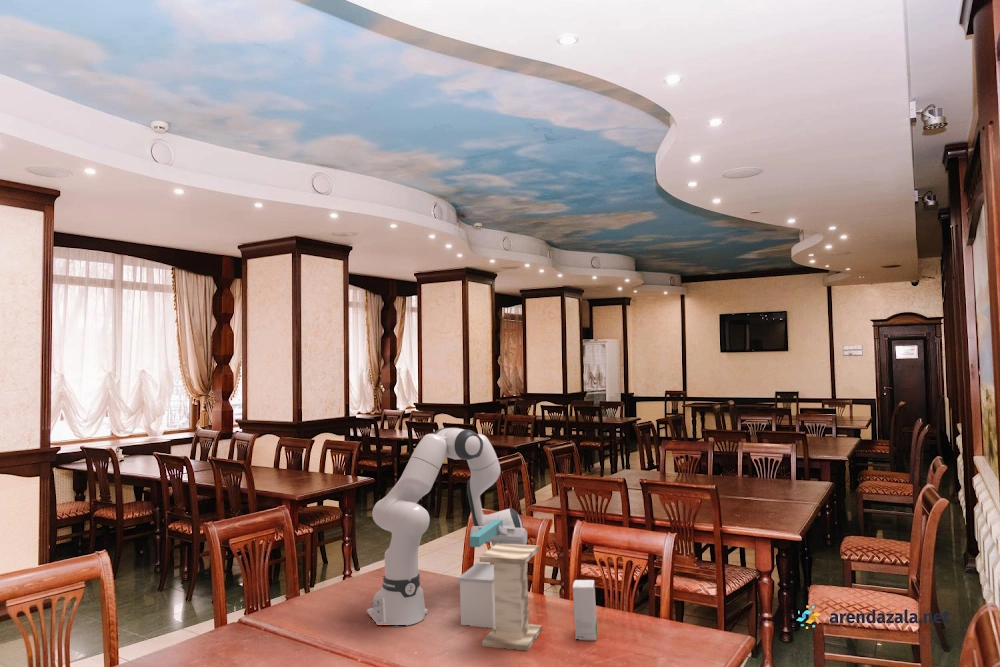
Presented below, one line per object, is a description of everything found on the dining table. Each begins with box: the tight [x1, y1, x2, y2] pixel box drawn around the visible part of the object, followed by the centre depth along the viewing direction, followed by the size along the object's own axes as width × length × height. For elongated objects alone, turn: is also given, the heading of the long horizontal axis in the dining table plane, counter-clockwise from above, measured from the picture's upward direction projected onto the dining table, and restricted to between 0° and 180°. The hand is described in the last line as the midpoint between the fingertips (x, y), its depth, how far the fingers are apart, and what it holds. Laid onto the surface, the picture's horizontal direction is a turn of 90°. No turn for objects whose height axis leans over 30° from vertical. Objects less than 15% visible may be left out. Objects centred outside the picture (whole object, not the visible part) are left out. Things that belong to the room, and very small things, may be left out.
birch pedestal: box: [479, 543, 543, 652], centre depth 202 cm, size 16×14×26 cm
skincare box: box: [572, 579, 598, 641], centre depth 202 cm, size 8×7×16 cm
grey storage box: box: [457, 562, 496, 629], centre depth 220 cm, size 17×12×15 cm
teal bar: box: [469, 520, 503, 548], centre depth 225 cm, size 24×3×3 cm, turn 161°
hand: (492, 527), depth 230 cm, fingers closed on teal bar, 3 cm apart
